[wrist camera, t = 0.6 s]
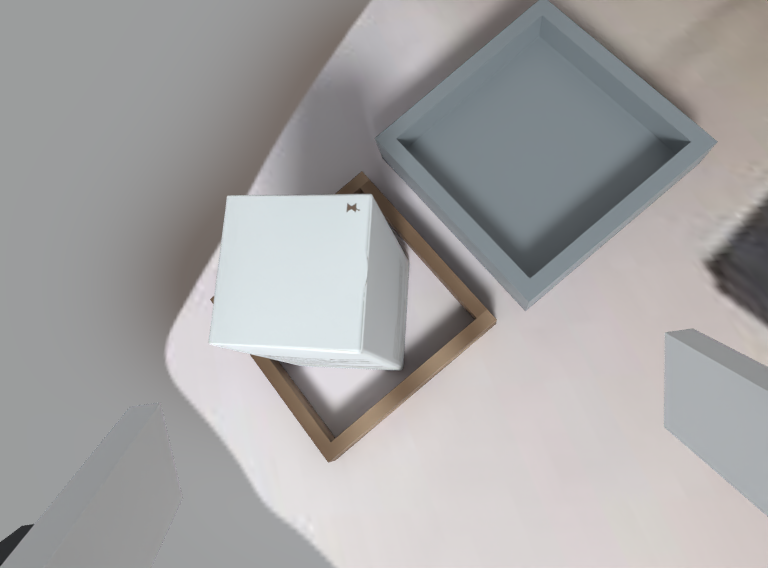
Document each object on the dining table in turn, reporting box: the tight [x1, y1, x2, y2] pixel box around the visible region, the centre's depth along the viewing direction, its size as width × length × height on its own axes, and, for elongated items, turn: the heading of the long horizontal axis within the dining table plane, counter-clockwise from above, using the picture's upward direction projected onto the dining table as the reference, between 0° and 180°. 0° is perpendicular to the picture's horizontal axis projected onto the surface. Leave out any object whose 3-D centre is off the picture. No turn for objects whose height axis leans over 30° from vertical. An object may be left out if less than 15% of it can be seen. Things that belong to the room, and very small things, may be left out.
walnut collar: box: [210, 172, 497, 463], centre depth 44 cm, size 16×16×2 cm
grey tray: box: [375, 0, 717, 311], centre depth 43 cm, size 17×17×4 cm
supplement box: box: [209, 194, 409, 370], centre depth 38 cm, size 9×9×15 cm
